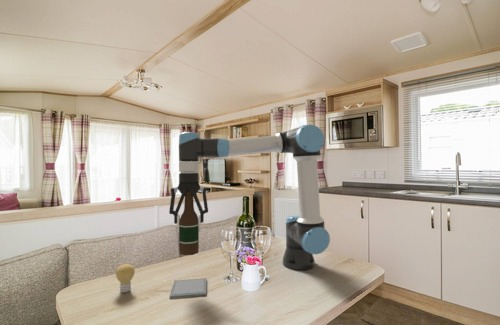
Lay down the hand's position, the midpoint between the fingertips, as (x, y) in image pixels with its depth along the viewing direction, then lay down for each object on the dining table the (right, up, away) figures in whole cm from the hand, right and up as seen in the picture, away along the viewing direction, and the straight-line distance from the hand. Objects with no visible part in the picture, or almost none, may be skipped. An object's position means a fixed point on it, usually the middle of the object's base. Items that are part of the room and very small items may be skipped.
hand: (189, 231), depth 102 cm
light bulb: (-24, -23, -2) cm, 33 cm away
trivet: (0, -22, 0) cm, 22 cm away
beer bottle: (0, -8, 0) cm, 8 cm away
